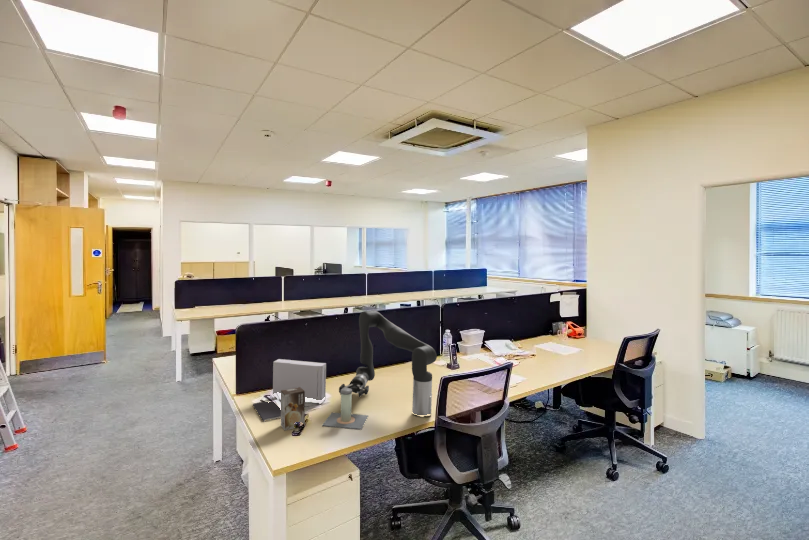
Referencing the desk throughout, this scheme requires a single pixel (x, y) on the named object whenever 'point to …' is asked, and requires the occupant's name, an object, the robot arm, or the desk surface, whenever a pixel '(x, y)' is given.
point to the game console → (300, 377)
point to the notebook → (267, 410)
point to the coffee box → (292, 407)
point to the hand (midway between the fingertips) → (350, 394)
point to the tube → (346, 404)
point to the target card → (355, 422)
